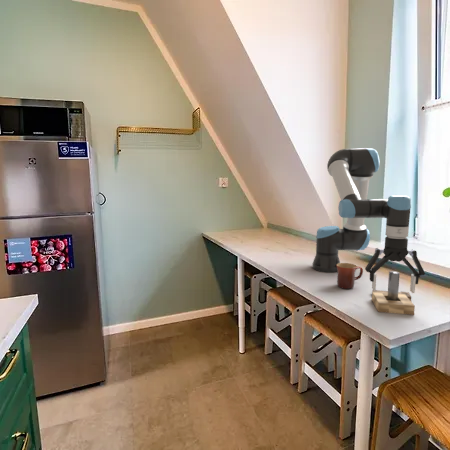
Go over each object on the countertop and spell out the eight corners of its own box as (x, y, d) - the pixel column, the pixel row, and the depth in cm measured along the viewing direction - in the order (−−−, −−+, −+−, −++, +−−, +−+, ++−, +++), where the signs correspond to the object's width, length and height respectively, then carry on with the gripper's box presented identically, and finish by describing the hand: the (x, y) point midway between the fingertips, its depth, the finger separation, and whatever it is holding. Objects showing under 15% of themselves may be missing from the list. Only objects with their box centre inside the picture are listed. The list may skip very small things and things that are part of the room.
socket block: (371, 299, 128) (372, 291, 127) (403, 302, 125) (404, 293, 124) (378, 311, 116) (379, 303, 116) (414, 314, 113) (414, 305, 113)
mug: (339, 290, 138) (340, 268, 137) (332, 283, 147) (333, 263, 145) (366, 289, 139) (367, 267, 137) (357, 283, 147) (358, 262, 146)
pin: (385, 304, 122) (388, 270, 120) (395, 305, 121) (398, 271, 119) (387, 308, 119) (390, 273, 117) (398, 309, 118) (400, 274, 116)
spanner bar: (373, 297, 130) (373, 293, 130) (371, 293, 135) (372, 288, 135) (410, 301, 126) (411, 296, 126) (408, 296, 131) (408, 292, 130)
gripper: (362, 237, 116) (359, 291, 119) (438, 240, 110) (433, 296, 113) (359, 234, 123) (356, 285, 126) (430, 236, 117) (425, 289, 120)
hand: (392, 290), depth 120 cm, fingers open, 13 cm apart
